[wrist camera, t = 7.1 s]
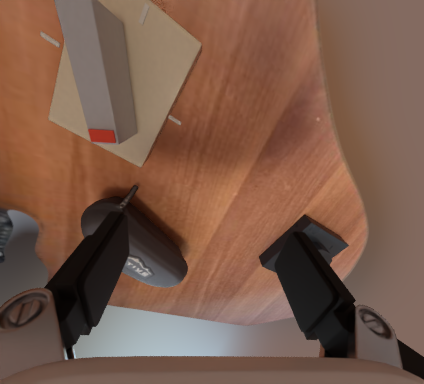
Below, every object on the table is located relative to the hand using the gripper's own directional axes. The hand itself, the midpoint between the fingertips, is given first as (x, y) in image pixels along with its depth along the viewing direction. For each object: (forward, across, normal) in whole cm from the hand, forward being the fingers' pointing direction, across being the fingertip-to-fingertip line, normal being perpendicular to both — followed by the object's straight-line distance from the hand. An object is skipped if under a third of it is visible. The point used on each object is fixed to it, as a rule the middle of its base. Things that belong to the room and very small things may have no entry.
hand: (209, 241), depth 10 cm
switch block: (+16, -21, +15) cm, 30 cm away
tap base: (+16, +9, -7) cm, 19 cm away
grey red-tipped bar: (+13, +9, -7) cm, 17 cm away
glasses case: (+16, +7, +14) cm, 22 cm away
